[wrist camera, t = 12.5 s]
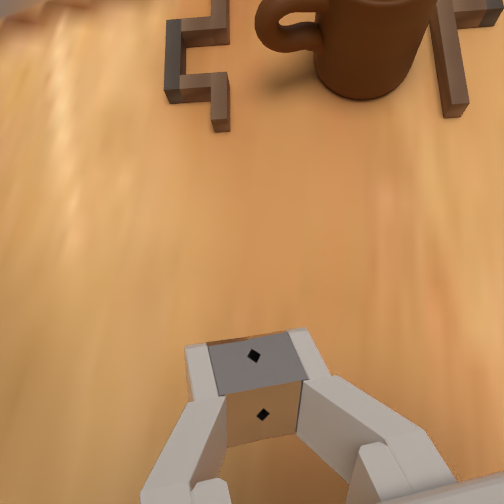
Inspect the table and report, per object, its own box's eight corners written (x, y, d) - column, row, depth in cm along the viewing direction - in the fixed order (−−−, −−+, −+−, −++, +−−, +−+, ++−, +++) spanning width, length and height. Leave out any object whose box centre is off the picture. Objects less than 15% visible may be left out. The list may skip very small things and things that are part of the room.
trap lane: (169, 135, 35) (154, 105, 31) (174, -38, 40) (162, -83, 36) (510, 113, 33) (539, 79, 29) (475, -66, 38) (496, -116, 34)
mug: (277, 134, 34) (272, 48, 25) (247, 55, 36) (232, -51, 27) (426, 85, 34) (474, -18, 25) (388, 9, 37) (420, -112, 27)
